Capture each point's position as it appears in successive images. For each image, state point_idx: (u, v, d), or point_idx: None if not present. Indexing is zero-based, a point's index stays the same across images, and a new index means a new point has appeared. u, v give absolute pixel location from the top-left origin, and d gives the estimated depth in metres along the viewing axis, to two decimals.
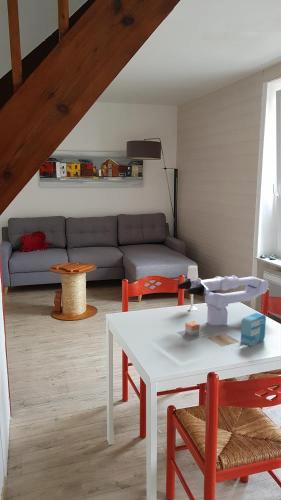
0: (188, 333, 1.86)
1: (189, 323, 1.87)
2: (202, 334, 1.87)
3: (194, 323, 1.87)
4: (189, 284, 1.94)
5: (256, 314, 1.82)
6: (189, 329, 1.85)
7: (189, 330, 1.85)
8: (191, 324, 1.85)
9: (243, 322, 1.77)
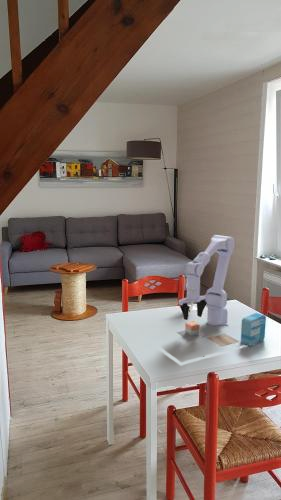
0: (188, 333, 1.86)
1: (189, 323, 1.87)
2: (202, 334, 1.87)
3: (194, 323, 1.87)
4: None
5: (256, 314, 1.82)
6: (189, 329, 1.85)
7: (189, 330, 1.85)
8: (191, 324, 1.85)
9: (243, 322, 1.77)
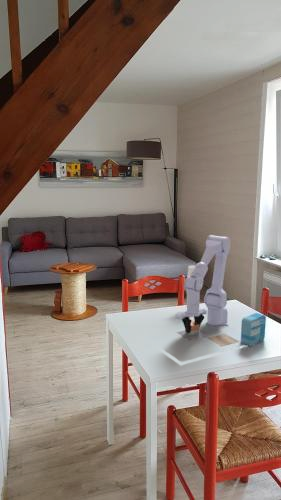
0: (188, 333, 1.86)
1: None
2: (202, 334, 1.87)
3: (194, 323, 1.87)
4: None
5: (256, 314, 1.82)
6: None
7: None
8: (191, 324, 1.85)
9: (243, 322, 1.77)
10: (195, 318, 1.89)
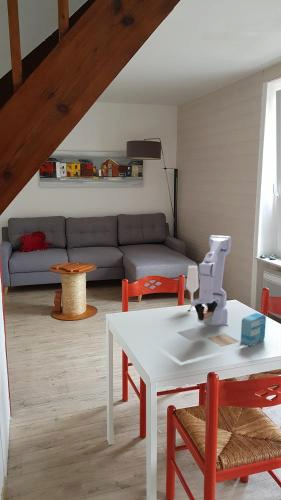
0: (201, 321, 1.82)
1: None
2: (202, 334, 1.87)
3: (206, 311, 1.83)
4: None
5: (256, 314, 1.82)
6: None
7: None
8: (204, 312, 1.82)
9: (243, 322, 1.77)
10: (208, 305, 1.85)
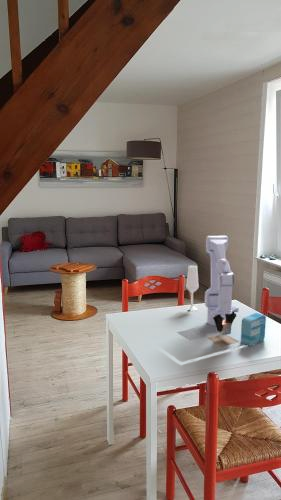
0: (219, 332, 1.79)
1: None
2: (202, 334, 1.87)
3: (225, 321, 1.80)
4: None
5: (256, 314, 1.82)
6: None
7: None
8: None
9: (243, 322, 1.77)
10: (226, 316, 1.81)
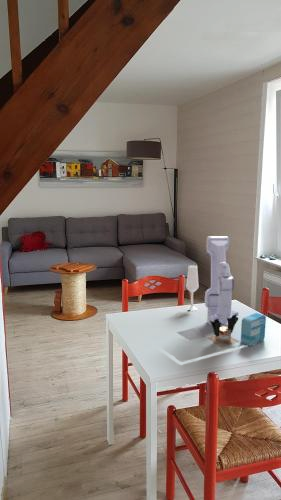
0: (219, 339, 1.80)
1: (220, 328, 1.80)
2: (202, 334, 1.87)
3: (225, 328, 1.81)
4: None
5: (256, 314, 1.82)
6: (220, 335, 1.79)
7: (220, 336, 1.79)
8: (222, 329, 1.79)
9: (243, 322, 1.77)
10: (228, 320, 1.82)
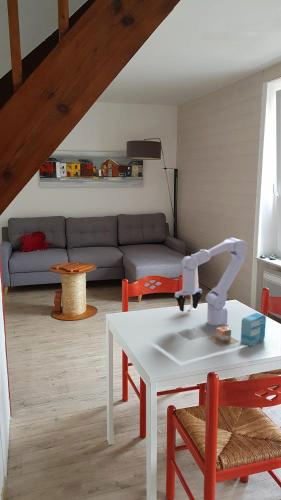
0: (219, 339, 1.80)
1: (220, 328, 1.80)
2: (202, 334, 1.87)
3: (225, 328, 1.81)
4: None
5: (256, 314, 1.82)
6: (220, 335, 1.79)
7: (220, 336, 1.79)
8: (222, 329, 1.79)
9: (243, 322, 1.77)
10: (193, 296, 1.97)
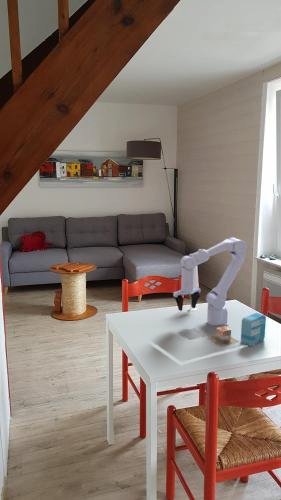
0: (219, 339, 1.80)
1: (220, 328, 1.80)
2: (202, 334, 1.87)
3: (225, 328, 1.81)
4: None
5: (256, 314, 1.82)
6: (220, 335, 1.79)
7: (220, 336, 1.79)
8: (222, 329, 1.79)
9: (243, 322, 1.77)
10: (192, 296, 1.98)
